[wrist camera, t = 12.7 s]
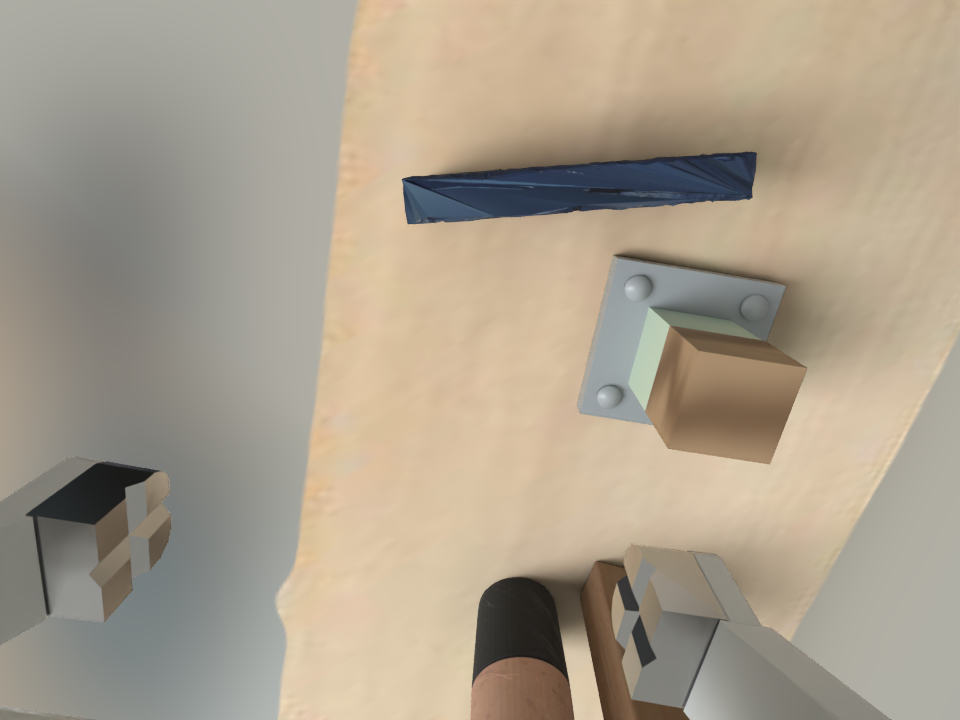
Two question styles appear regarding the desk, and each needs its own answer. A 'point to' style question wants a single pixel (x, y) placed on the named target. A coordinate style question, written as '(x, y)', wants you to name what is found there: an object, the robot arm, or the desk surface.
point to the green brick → (655, 341)
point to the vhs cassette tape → (579, 187)
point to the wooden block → (613, 652)
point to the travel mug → (519, 656)
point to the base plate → (670, 290)
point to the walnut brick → (722, 394)
